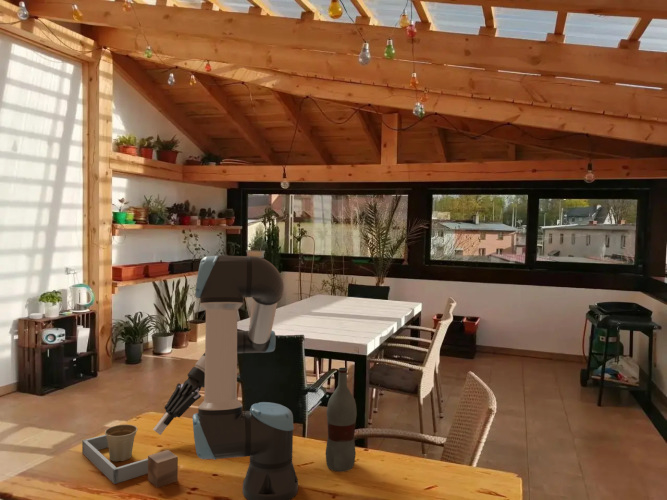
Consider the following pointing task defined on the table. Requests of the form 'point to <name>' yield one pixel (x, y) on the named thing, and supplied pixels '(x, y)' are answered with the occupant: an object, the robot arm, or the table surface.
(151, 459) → the walnut block
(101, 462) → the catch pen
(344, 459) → the bottle
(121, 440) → the flower pot
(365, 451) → the table surface
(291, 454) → the robot arm
